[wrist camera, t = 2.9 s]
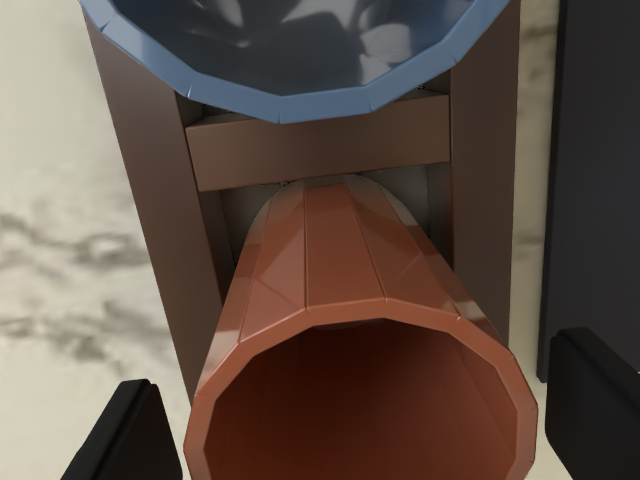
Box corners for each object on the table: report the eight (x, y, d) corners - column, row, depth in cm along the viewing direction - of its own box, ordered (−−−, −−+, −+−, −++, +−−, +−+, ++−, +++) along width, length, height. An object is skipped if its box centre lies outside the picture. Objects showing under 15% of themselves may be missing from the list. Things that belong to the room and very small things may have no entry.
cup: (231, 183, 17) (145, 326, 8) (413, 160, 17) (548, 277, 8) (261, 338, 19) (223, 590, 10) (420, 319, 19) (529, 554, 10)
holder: (214, 393, 20) (200, 445, 18) (58, -238, 13) (-11, -324, 10) (478, 361, 20) (507, 409, 17) (484, -295, 13) (536, -398, 10)
